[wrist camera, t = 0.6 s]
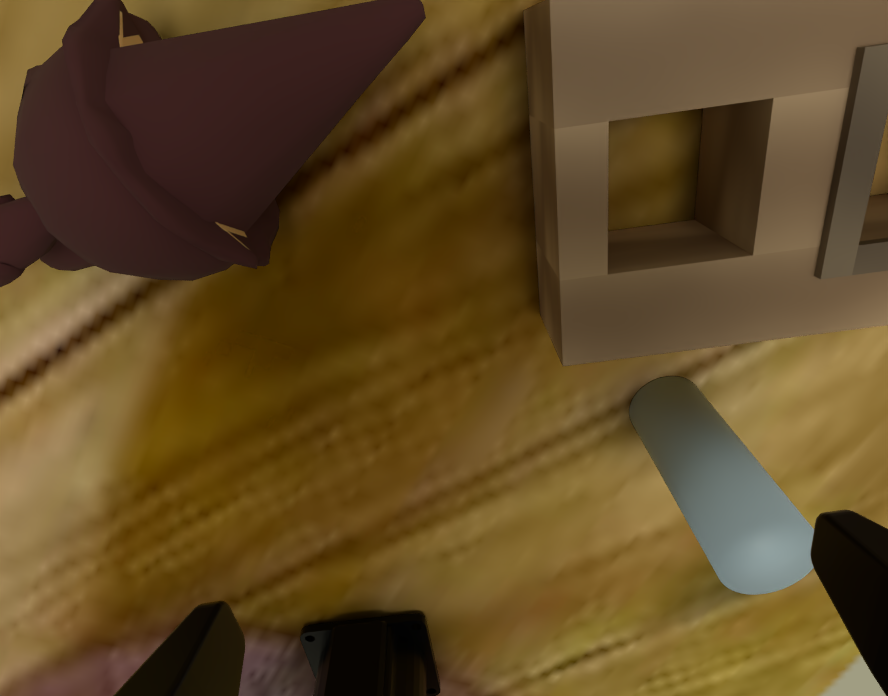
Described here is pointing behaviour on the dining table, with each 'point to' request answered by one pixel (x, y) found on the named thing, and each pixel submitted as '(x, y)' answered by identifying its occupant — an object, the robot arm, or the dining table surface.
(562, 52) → the socket block
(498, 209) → the dining table surface
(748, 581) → the dowel
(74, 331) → the dining table surface
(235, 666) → the robot arm
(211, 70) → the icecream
